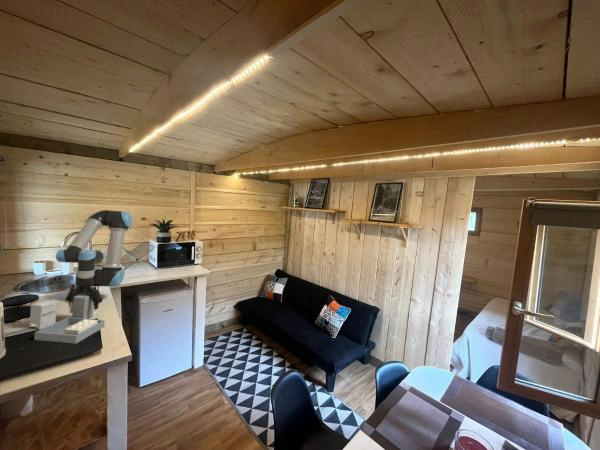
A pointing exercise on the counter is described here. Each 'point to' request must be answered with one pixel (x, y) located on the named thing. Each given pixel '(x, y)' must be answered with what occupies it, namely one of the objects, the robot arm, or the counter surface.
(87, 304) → the skincare box
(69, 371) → the counter surface
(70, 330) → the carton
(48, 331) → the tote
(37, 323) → the supplement box
